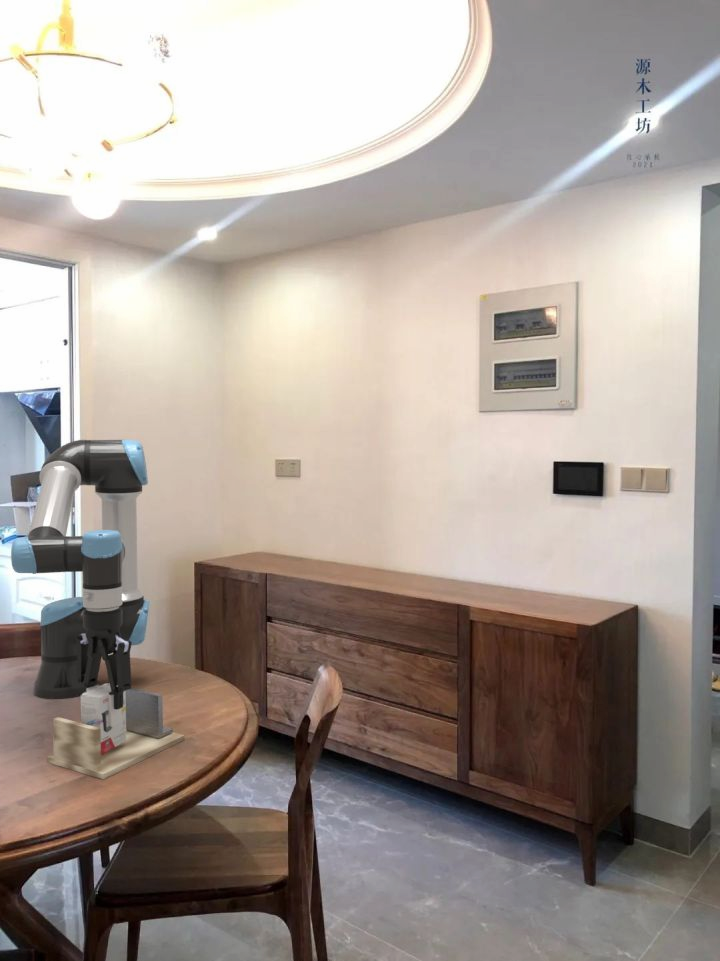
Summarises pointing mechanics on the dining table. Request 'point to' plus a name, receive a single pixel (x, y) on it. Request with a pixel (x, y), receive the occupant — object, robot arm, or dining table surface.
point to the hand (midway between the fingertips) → (104, 720)
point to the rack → (83, 748)
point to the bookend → (145, 713)
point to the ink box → (103, 716)
